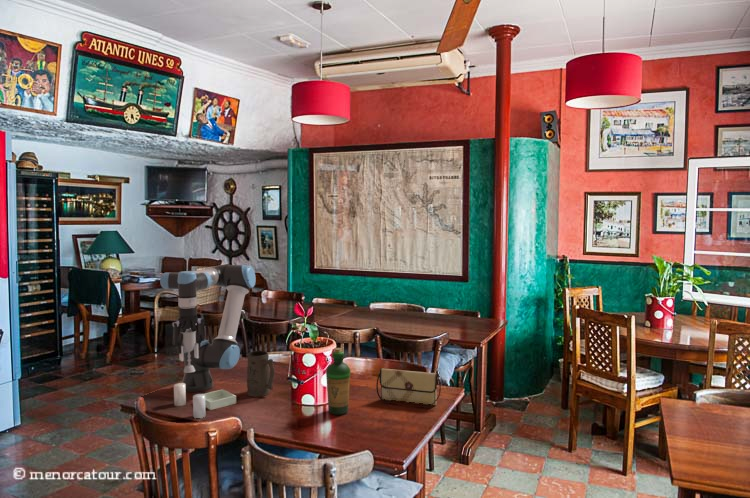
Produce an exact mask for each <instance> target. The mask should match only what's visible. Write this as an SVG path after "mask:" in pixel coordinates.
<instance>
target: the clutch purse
mask: <svg viewBox="0 0 750 498" xmlns="http://www.w3.org/2000/svg"><path fill="white" fill-rule="evenodd" d="M377 373H378V374H377V375H378V376H377V379H376V394H377V396H378V398H379V399H380V400H381V401H383V402H385V403H387V404H390V403H392V401H391V400H396V401H395V402H400V401H406V402H405V403H409V402H415V403H414V404H419V403H423V404H422V405H427V406H423V407H424V408H423V409H428V408H430V407H431V406H435V405H436V406H437V401H438V400H439V397H440V396H441V385H442V384H441V379H440V377H438V376H439V374H438V372H437V373H435V372H426V371H425V372H424V371H414V370H412V371H411V370H402V369H394V368H393V369H391V368H381V367H380V369H379V371H378V372H377ZM438 384H439V385H438ZM379 385H380V393H379V387H378V386H379ZM437 385H438V386H439V390H438V389H437V388H438V386H437ZM437 390H438V396H437ZM384 399H385V400H384ZM428 404H431V405H428Z"/></svg>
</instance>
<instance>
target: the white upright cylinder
mask: <svg viewBox="0 0 750 498" xmlns="http://www.w3.org/2000/svg"><path fill="white" fill-rule="evenodd" d="M186 393H187V392H186V384H185V383H182V382H178V383H175V384H173V402H174V403H173V405H174V406H175V407H182V406H186V404H187V394H186Z"/></svg>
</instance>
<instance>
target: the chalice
mask: <svg viewBox="0 0 750 498" xmlns="http://www.w3.org/2000/svg"><path fill="white" fill-rule="evenodd" d="M181 333H183V332H181ZM195 342H196V331H194V332H192V330H191V328H188V329H186V331H185V333H183V342H182V346H183V350H184V349H185V351H187V352H188V356H187V357H188V360H187V361H188V365H187V366H186V367H185V366H184V369H183V373H184V374H185V373H191V372H195V368H194V366H193V365H191V364H190V361H191V359H190V357H191V355H190V351H192V350H193V347H194V345H195Z"/></svg>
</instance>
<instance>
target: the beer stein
mask: <svg viewBox="0 0 750 498" xmlns="http://www.w3.org/2000/svg"><path fill="white" fill-rule="evenodd" d="M246 358H247V367H246V387H247V392H246V394H247V395H248V396H250V397H253V398H254V397H257V398H259V397H260V398H261V397H264V396H265V397H266V396H267V395H269V394H270V392H271V391H272V390H273V389H274V387H273V382H274V379H275V366H274V362H273V361H274V360H273V359H272V358H269V352H267V351H264V350H253V351H250V352H248V353H247V357H246Z"/></svg>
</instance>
